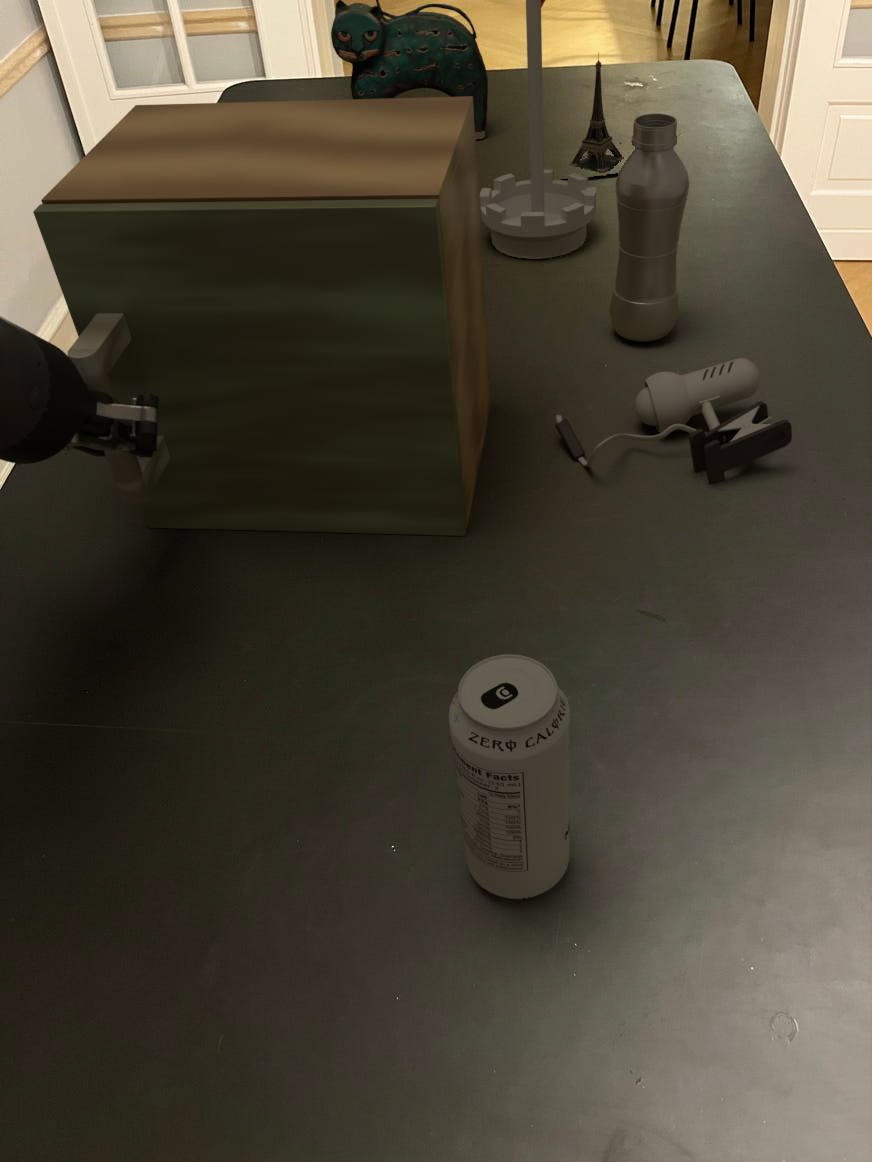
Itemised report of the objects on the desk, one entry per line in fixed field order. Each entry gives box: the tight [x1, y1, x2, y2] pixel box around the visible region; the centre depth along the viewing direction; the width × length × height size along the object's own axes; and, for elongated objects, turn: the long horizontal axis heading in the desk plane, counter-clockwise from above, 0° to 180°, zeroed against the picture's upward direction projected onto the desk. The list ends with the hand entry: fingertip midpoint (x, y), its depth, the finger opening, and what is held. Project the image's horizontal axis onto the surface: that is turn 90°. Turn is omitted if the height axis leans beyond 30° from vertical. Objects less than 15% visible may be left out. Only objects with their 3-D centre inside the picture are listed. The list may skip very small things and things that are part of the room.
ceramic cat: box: [330, 0, 489, 132], centre depth 138 cm, size 20×6×20 cm, turn 90°
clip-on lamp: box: [555, 357, 793, 485], centre depth 87 cm, size 12×6×18 cm
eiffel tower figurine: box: [569, 51, 632, 173], centre depth 130 cm, size 15×10×13 cm
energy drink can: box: [448, 654, 571, 900], centre depth 56 cm, size 6×6×15 cm
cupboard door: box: [32, 199, 468, 537], centre depth 73 cm, size 7×26×26 cm, turn 84°
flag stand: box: [479, 0, 597, 257], centre depth 110 cm, size 13×13×30 cm
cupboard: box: [40, 96, 492, 526], centre depth 82 cm, size 18×26×26 cm
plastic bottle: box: [609, 113, 690, 342], centre depth 96 cm, size 6×7×20 cm
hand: (125, 442), depth 75 cm, fingers open, 3 cm apart
